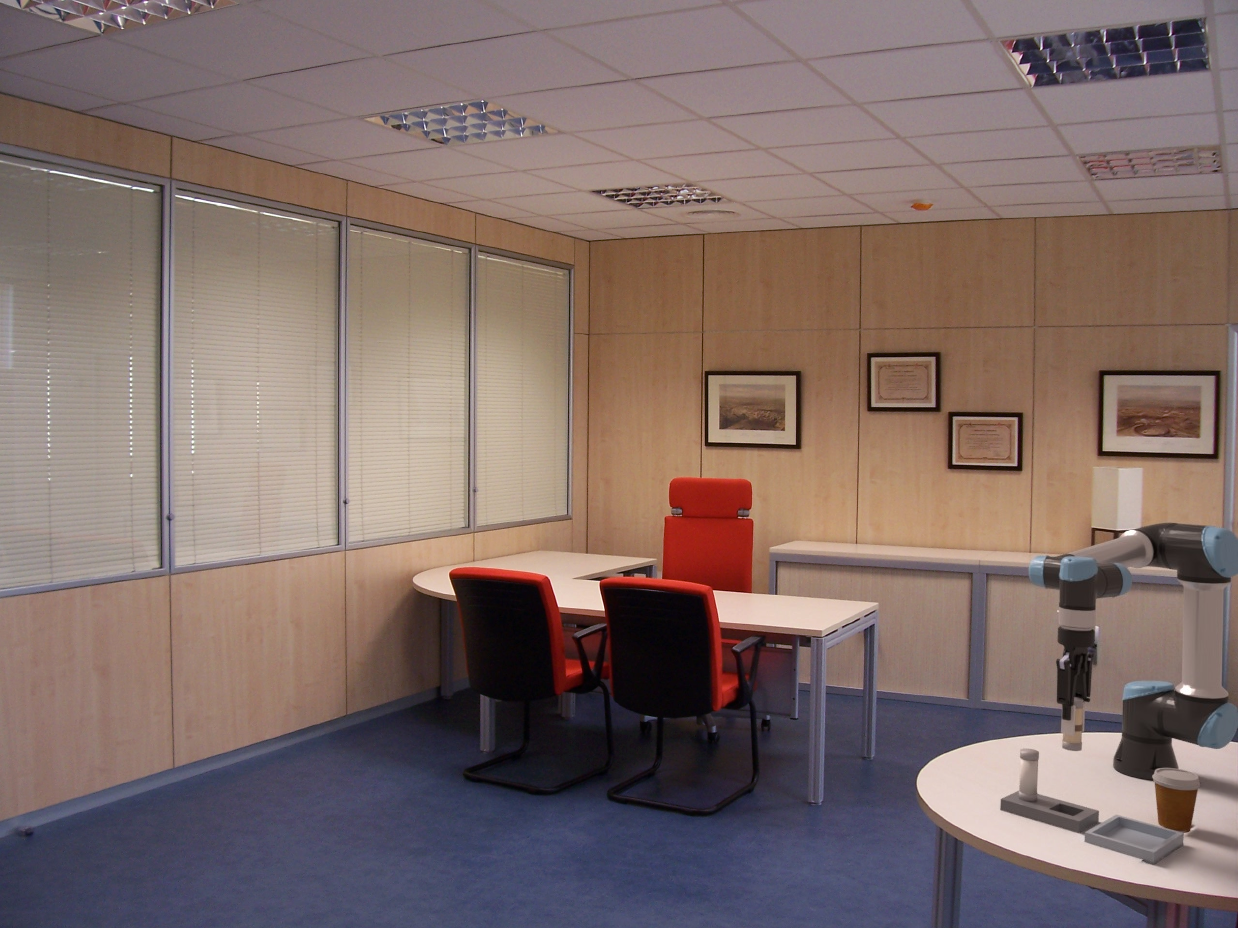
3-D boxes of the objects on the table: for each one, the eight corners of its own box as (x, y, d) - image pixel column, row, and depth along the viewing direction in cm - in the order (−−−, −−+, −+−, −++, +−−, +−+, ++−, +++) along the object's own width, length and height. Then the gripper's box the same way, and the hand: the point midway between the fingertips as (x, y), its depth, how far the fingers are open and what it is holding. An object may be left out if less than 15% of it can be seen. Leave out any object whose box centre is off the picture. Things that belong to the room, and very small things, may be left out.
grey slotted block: (1021, 801, 253) (1023, 742, 252) (1098, 823, 240) (1100, 761, 239) (1000, 811, 246) (1002, 751, 245) (1078, 834, 233) (1080, 770, 232)
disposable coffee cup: (1197, 838, 232) (1199, 783, 231) (1148, 829, 237) (1150, 775, 236) (1200, 825, 240) (1202, 772, 239) (1152, 816, 245) (1154, 764, 244)
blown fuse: (1067, 744, 242) (1068, 695, 241) (1084, 748, 239) (1086, 699, 238) (1058, 747, 239) (1060, 698, 238) (1076, 751, 236) (1078, 702, 235)
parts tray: (1115, 825, 239) (1116, 814, 239) (1183, 844, 229) (1183, 832, 228) (1084, 843, 228) (1084, 832, 228) (1153, 864, 218) (1153, 852, 218)
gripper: (1076, 620, 246) (1073, 721, 247) (1041, 628, 235) (1037, 735, 236) (1110, 625, 241) (1106, 728, 242) (1075, 634, 229) (1071, 743, 230)
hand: (1072, 731), depth 239 cm, fingers closed on blown fuse, 4 cm apart
